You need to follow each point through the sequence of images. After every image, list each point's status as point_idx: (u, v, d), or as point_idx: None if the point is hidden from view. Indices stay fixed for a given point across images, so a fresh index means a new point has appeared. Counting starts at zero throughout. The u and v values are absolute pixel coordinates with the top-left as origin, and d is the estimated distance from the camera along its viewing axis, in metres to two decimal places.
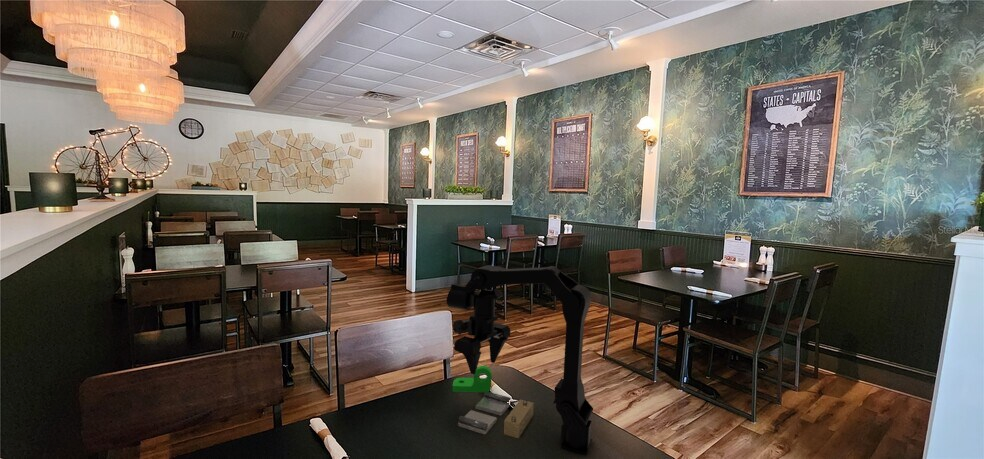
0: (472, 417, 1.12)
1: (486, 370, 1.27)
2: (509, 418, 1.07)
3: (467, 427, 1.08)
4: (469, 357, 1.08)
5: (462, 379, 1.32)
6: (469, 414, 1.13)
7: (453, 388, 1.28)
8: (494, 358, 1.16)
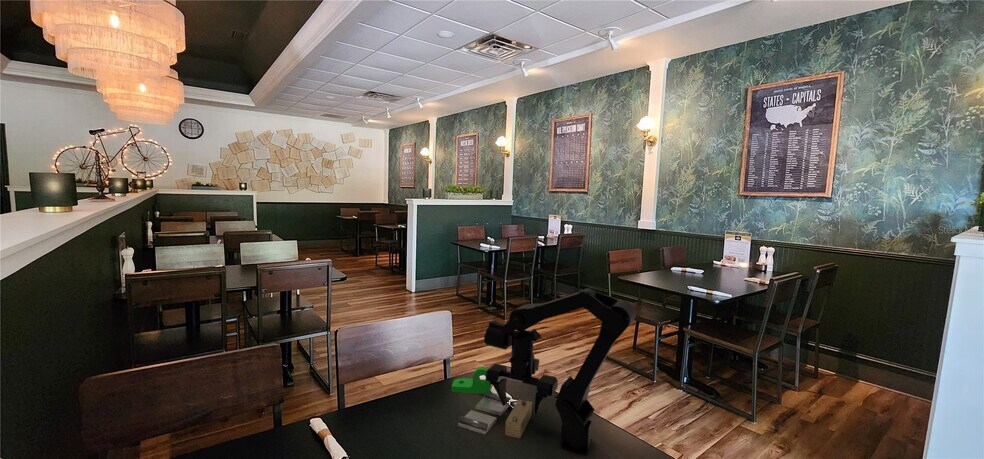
0: (472, 417, 1.12)
1: (485, 371, 1.26)
2: (510, 418, 1.07)
3: (467, 427, 1.08)
4: None
5: (462, 380, 1.32)
6: (469, 414, 1.13)
7: (452, 388, 1.28)
8: None
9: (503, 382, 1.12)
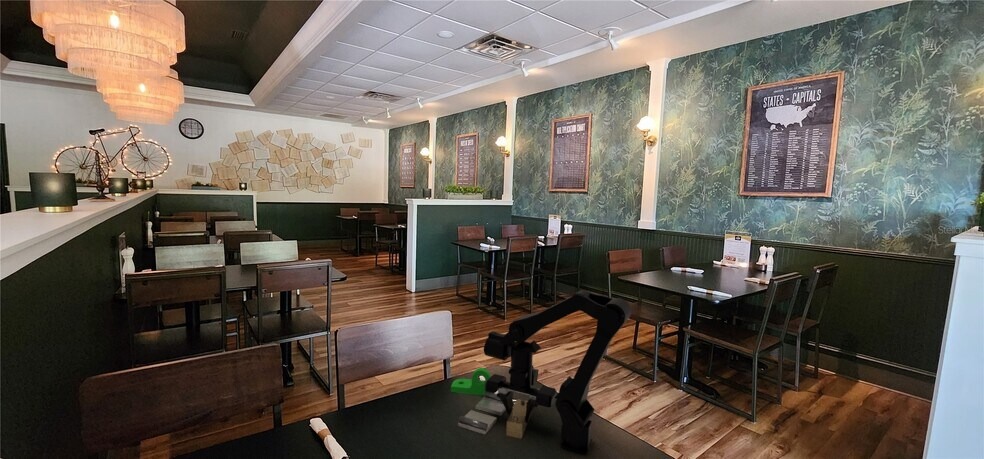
0: (472, 417, 1.12)
1: (484, 373, 1.26)
2: (511, 418, 1.07)
3: (467, 427, 1.08)
4: None
5: (462, 380, 1.32)
6: (469, 414, 1.13)
7: (451, 389, 1.27)
8: None
9: (510, 395, 1.11)
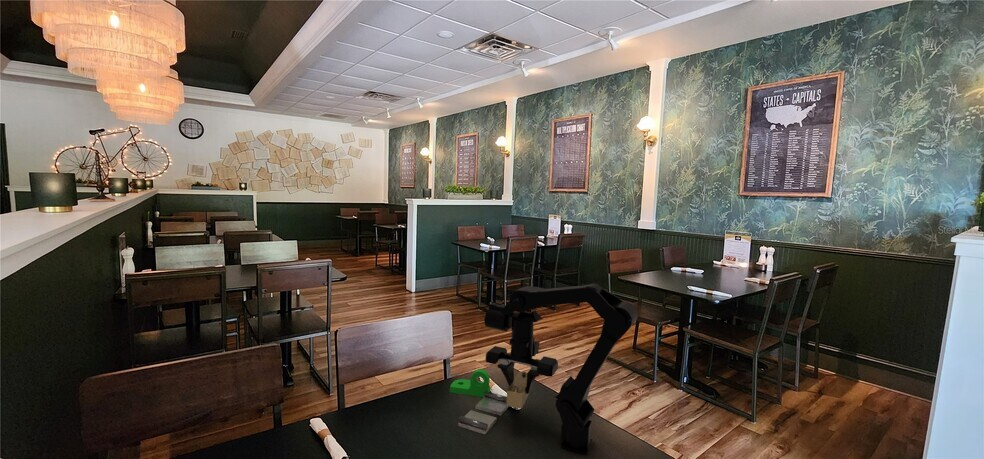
0: (472, 417, 1.12)
1: (483, 374, 1.25)
2: (511, 388, 1.06)
3: (467, 427, 1.08)
4: None
5: (462, 381, 1.31)
6: (469, 414, 1.13)
7: (450, 389, 1.27)
8: None
9: (511, 366, 1.11)
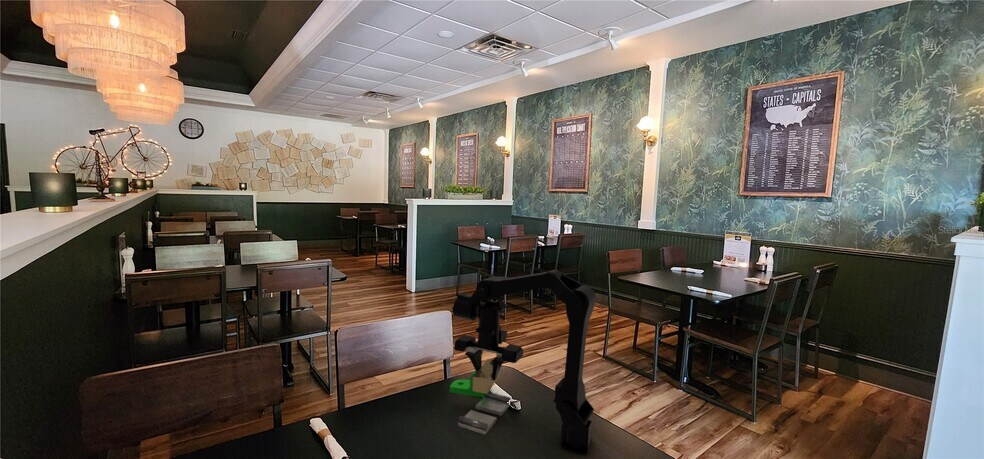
0: (472, 417, 1.12)
1: None
2: (477, 374, 1.10)
3: (467, 427, 1.08)
4: None
5: (462, 381, 1.31)
6: (469, 414, 1.13)
7: (450, 389, 1.27)
8: None
9: (478, 354, 1.15)
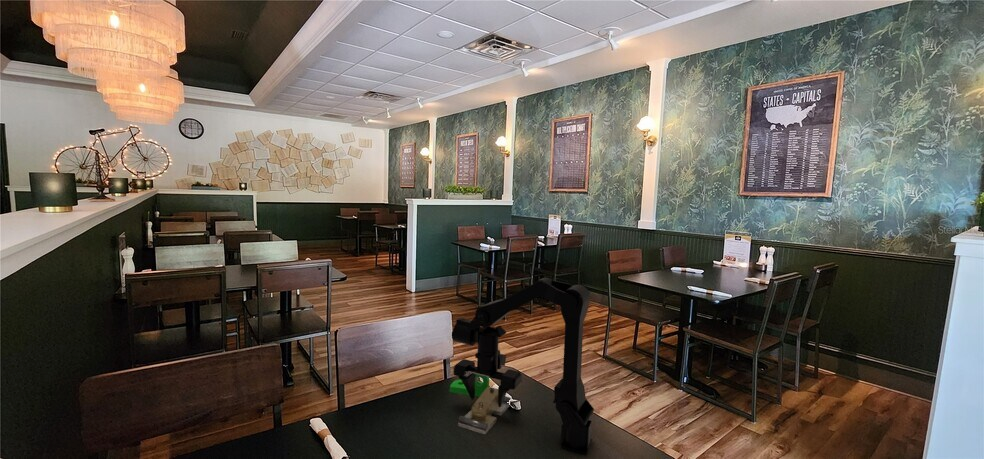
0: None
1: None
2: (476, 404, 1.11)
3: (467, 427, 1.08)
4: None
5: None
6: (469, 414, 1.13)
7: (450, 389, 1.27)
8: None
9: (472, 377, 1.16)
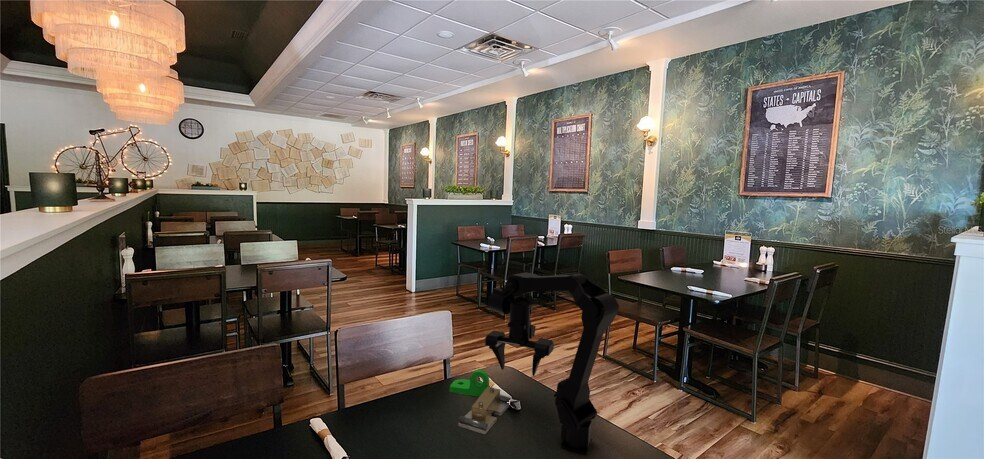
0: None
1: (482, 374, 1.24)
2: (476, 404, 1.11)
3: (467, 427, 1.08)
4: None
5: (462, 381, 1.31)
6: (469, 414, 1.13)
7: (450, 388, 1.27)
8: None
9: (502, 347, 1.18)
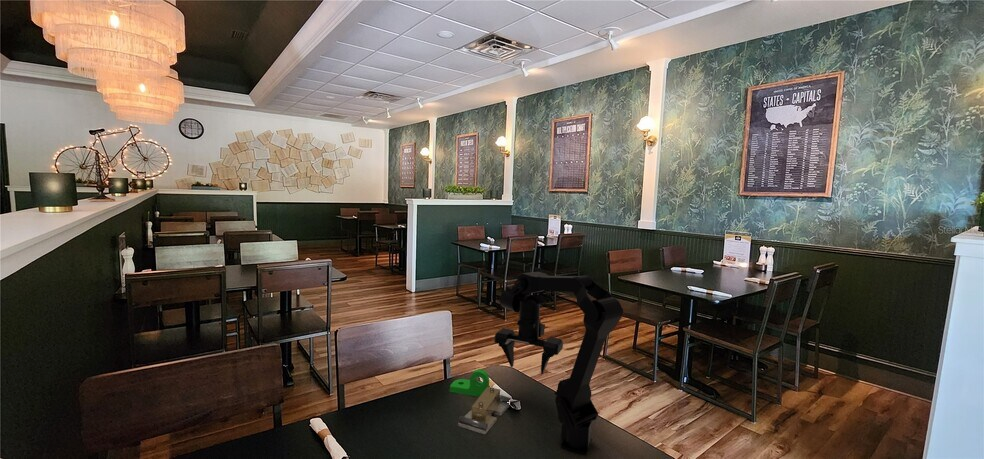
0: None
1: (482, 374, 1.24)
2: (476, 404, 1.11)
3: (467, 427, 1.08)
4: None
5: (462, 381, 1.31)
6: (469, 414, 1.13)
7: (450, 388, 1.28)
8: None
9: (511, 345, 1.19)
